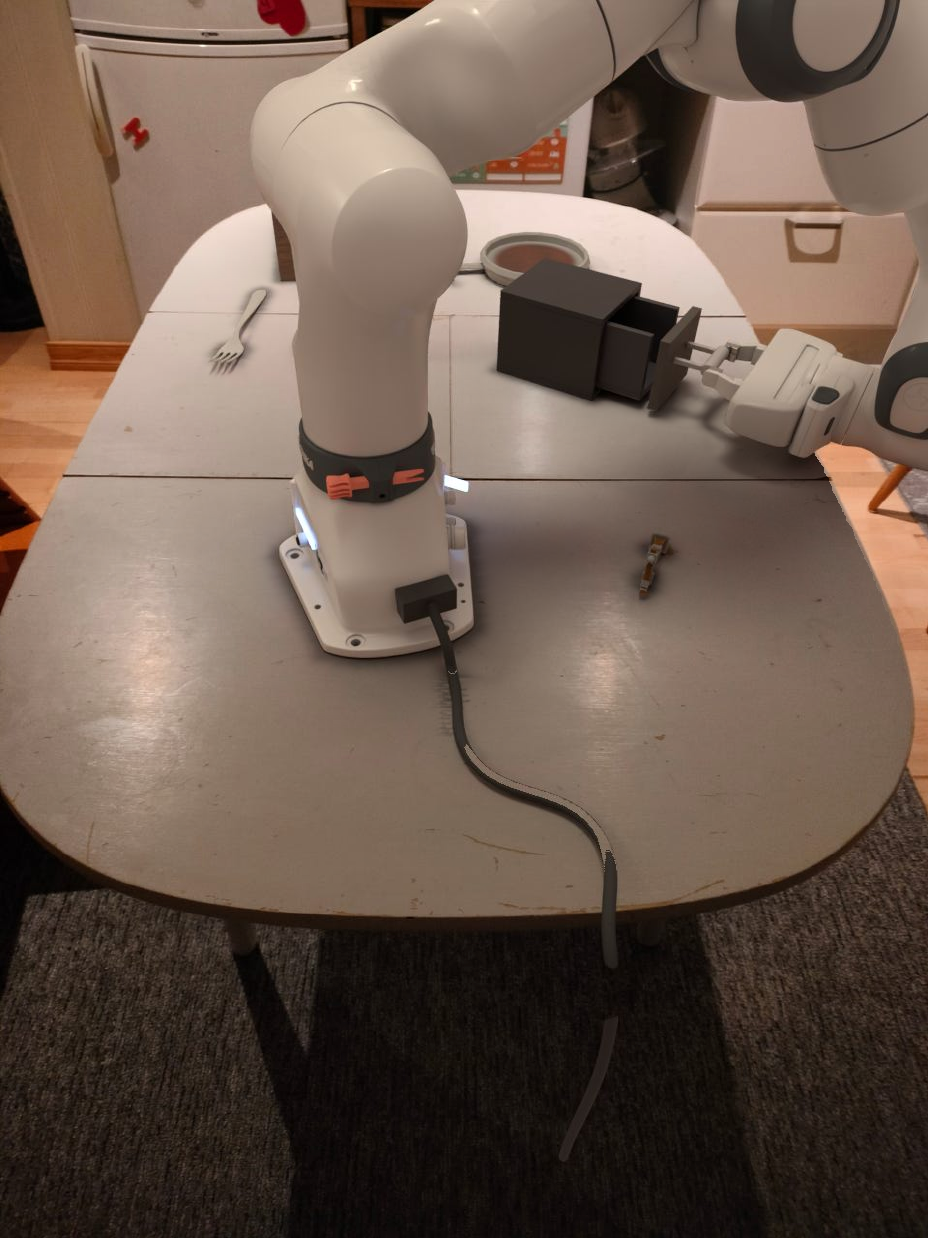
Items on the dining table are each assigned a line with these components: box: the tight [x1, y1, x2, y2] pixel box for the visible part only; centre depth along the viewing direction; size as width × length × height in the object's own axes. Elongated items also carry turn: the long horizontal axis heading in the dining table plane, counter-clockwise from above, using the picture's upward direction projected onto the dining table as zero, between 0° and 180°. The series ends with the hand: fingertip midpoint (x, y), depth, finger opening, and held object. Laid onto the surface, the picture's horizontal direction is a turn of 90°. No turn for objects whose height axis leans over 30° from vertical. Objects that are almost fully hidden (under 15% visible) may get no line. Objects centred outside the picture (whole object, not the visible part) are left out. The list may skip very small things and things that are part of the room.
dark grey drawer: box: [596, 295, 729, 412], centre depth 103 cm, size 18×10×9 cm, turn 59°
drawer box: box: [496, 258, 643, 401], centre depth 107 cm, size 14×12×11 cm
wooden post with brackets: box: [638, 531, 671, 596], centre depth 81 cm, size 2×8×4 cm, turn 159°
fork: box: [208, 289, 267, 364], centre depth 115 cm, size 3×24×2 cm, turn 177°
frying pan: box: [452, 231, 591, 287], centre depth 130 cm, size 17×3×28 cm
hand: (714, 361), depth 99 cm, fingers closed on dark grey drawer, 5 cm apart
